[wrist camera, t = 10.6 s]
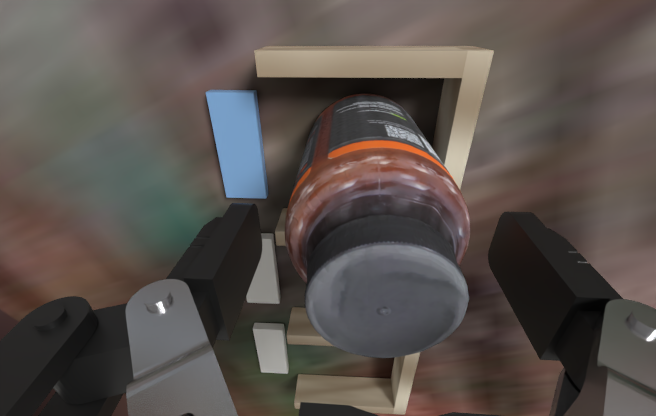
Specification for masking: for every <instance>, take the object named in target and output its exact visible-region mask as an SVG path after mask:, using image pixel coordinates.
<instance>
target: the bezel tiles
mask: <svg viewBox="0 0 656 416" xmlns="http://www.w3.org/2000/svg"><path fill="white" fill-rule="evenodd" d="M206 96H207V101H208V106H209V111H210V117H211V122H212V127H213V132H214V137H215V142H216V147H217V152H218V157H219V162H220V167H221V172H222V177H223V182H224V187H225V192H226V197H227V198H265V199H266V198H267V196H268V194H269V193H268V185H267V176H266V168H265V159H264V150H263V142H262V133H261V125H260V116H259V108H258V99H257V91H256V90H209V91H207V92H206ZM261 236H262V254H261V259H260V261H259V264H258V267H257V269H256V272H255V274H254V277H253V280H252V282H251V285H250V288H249V290H248V293H247V296H246V298H247V303H271V304H279V303H280V299H281V295H280V287H279V278H278V270H277V261H276V253H275V244H274V236H273V234H270V233H261ZM253 333H254V338H255V343H256V348H257V353H258V358H259V363H260V368H261V372H264V373H284V374H288V370H289V364H288V355H287V347H286V338H285V329H284V324H278V323H254V326H253Z"/></svg>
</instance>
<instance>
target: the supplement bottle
mask: <svg viewBox="0 0 656 416" xmlns="http://www.w3.org/2000/svg"><path fill="white" fill-rule="evenodd" d="M469 239H470V216H469V212H468V208H467V205H466V203H465V200H464V198H463V196H462V193H461V191H460V189H459V188H458V186H457V184H456V183H455V181H454V180H453V177H452V176H451V175H450V173H449V171H448V170H447V169H446V167H445V166H444V165H443V163H442V162H441V160H440V159H439V157H438V156H437V154H436V153H435V151H434V150H433V148H432V147H431V145H430V144H429V142H428V141H427V140H426V138H425V137H424V135H423V134H422V132H421V131H420V129H419V128H418V127H417V125H416V123H415V122H414V120H413V119H412V117H411V116H410V115H409V114H408V113H407V112H406V111H405V110H404V109H403V107H402V106H400V105H399V104H397V103H396V102H394V101H393V100H390V99H388V98H386V97H383V96H380V95H376V94H367V93H363V94H354V95H350V96H347V97H344V98H342V99H340V100H338V101H336V102H334V103H333V104H331V105H330V106H329V107H328V108H326V109H325V110H324V111H323V112H322V113H321V114H320V115H319V117H318V118H317V120H316V122H315V123H314V125H313V127H312V129H311V131H310V134H309V137H308V140H307V144H306V147H305V150H304V154H303V157H302V160H301V164H300V167H299V170H298V174H297V177H296V181H295V183H294V186H293V190H292V195H291V198H290V202H289V205H288V209H287V213H286V220H285V244H286V248H287V251H288V255H289V257H290V260H291V261H292V263H293V266H294V267H295V269H296V271H297V272H298V274H299V275H300V277H301V278H302V279H303V280H304V281H305V282H306V283H307V284H306V290H305V308H306V313H307V316H308V319H309V320H310V323H311V324H312V326H313V327H314V329H315V330H316V331H317V332H318V333H319V334H320V335H321V336H322V337H323V338H324V339H325V340H326V341H328V342H329V343H331V344H332V345H334V346H335V347H337V348H339V349H342V350H344V351H347V352H350V353H353V354H357V355H362V356H366V357H375V358H393V357H401V356H406V355H411V354H415V353H419V352H421V351H424V350H426V349H428V348H430V347H432V346H434V345H436V344H438V343H440V342H442V341H443V340H444V339H446V338H447V337H448V336H449V335H450V334H452V333H453V332H454V331H455V329H456V328H457V327H458V326H459V325H460V323H461V321H462V320H463V317H464V316H465V313H466V309H467V306H468V301H469V295H468V287H467V284H466V281H465V278H464V276H463V274H462V271H461V269H460V267H459V265H460V263H461V261H462V259H463V258H464V255H465V253H466V249H467V247H468V243H469Z"/></svg>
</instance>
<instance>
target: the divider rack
mask: <svg viewBox="0 0 656 416" xmlns="http://www.w3.org/2000/svg"><path fill="white" fill-rule="evenodd" d="M493 53H494V51H492V50H488V49H483V48H479V47H474V46H267V47H264V48H261V49H258V50H255V60H256V69H257V77H340V78H444V83H443V88H442V94H441V100H440V105H439V111H438V116H437V122H436V128H435V133H434V139H433V145H432V148H433V150H434V151H435V153H436V154H437V156H438V157H439V159H440V160H441V162H442V163H443V165H444V166H445V167H446V169H447V170H448V171H449V173H450V175H451V176H452V177H453V180H454V181H455V183H456V184H457V186H458V188H459V189H460V187H461V183H462V179H463V175H464V171H465V167H466V163H467V159H468V155H469V151H470V147H471V142H472V138H473V134H474V130H475V126H476V122H477V118H478V114H479V110H480V106H481V102H482V98H483V93H484V89H485V85H486V81H487V77H488V73H489V69H490V65H491V61H492V57H493ZM287 209H288V208H283V209H282V212H281V215H280V218H279V221H278V224H277V227H276V230H275V237H276V245H277V246H286V244H285V220H286V213H287ZM287 342H288V344H299V345H321V346H334V345H332V344H331V343H329V342H328V341H326V340H325V339H324V338H323V337H322V336H321V335H320V334H319V333H318V332H317V331H316V330H315V329H314V327H313V326H312V324H311V323H310V320H309V319H308V316H307V313H306V308H301V307H292V310H291V315H290V320H289V326H288V331H287ZM419 355H420V352H419V353H415V354H411V355H406V356H401V357H395V358H394V364H393V369H392V375H391V379H386V378H366V377H347V376H327V375H307V374H298V380H297V387H296V394H295V401H294V404H295V409H300V402H309V403H323V404H338V405H350V406H353V407H356V408H358V409H361V410H364V411H367V412H370V413H384V414H402V415H405V412H406V408H407V404H408V400H409V396H410V391H411V387H412V383H413V379H414V375H415V371H416V367H417V363H418V359H419Z"/></svg>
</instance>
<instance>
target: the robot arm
mask: <svg viewBox="0 0 656 416" xmlns="http://www.w3.org/2000/svg"><path fill="white" fill-rule="evenodd" d="M261 254H262V236H261V230H260V223H259V216H258V210H257V206H256V205H255V204H245V203H232V204H231V205H230V207H229V208H228V210H227V211H226V213H225V214H224V216H223V217H216V218H214V219H213V220H212V221H210V222H209V223H207V224H206V225H204V226H203V228H202V229H201V231H200V232H199V233H198V235H197V236H196V239H194V240H193V242H192V243H191V245H190V247H188V249H187V250H186V252H185V253H184V255H183V256H182V257H181V259H180V260H179V262H178V263H177V264H176V266H175V267H174V269H173V270H172V271H171V273H170V274H169V276H168V277H167V278H166V279H164V280H160V281H157V282H154V283H151V284H149V285H147V286H145V287H143V288H142V289H140V290H139V291H138V292H137V293H135V294H134V295H133V296H132V298H131V299H130V300H129V302H128V303H127V304H122V305H117V306H112V307H107V308H102V309H97V310H92V308H91V306H90V305H89V303H88V302H87V300H86V299H84V298H81V297H75V296H73V297H64V298H60V299H56V300H54V301H51V302H48V303H46V304H44V305H42V306H40V307H38V308H37V309H35V310H34V311H32V312H31V313H29V314H28V315H27V316H25V317H24V318H23V319H22V320H21V321H20V322H19V323H18V324H17V325H16V326H15V327H14V328H13V329H12V330H11V331H10V332H9V333H8V334H7V335H6V336H5V337H4V338H3V339H2V340H1V341H0V416H32V415H33V414H34V413H35V411H36V410H37V408H38V407H39V406H40V405H41V403H42V402H43V401H44V399H45V398H46V397H47V395H48V394H49V393H50V391H51V390H52V389H53V388H54V389H55V390H56V392H55V394H54V395H53V397H52V398H51V399H50V401H49V402H48V403H47V405H46V406H45V407H44V409H43V410H42V412H41V413H40V414H39V416H111V415H112V413H113V412H114V410H115V408H116V406H117V404H118V403H119V401H120V399H121V397H122V395H123V393H126V395H127V406H128V416H238V415H237V412H236V409H235V407H234V404H233V401H232V399H231V396H230V394H229V391H228V388H227V386H226V383H225V380H224V378H223V375H222V372H221V370H220V367H219V364H218V362H217V359H216V356H215V354H214V351H213V345H214V343H215V341H216V340H230V338H231V335H232V332H233V330H234V327H235V324H236V322H237V319H238V317H239V314H240V311H241V309H242V306H243V303H244V301H245V298H246V296H247V293H248V290H249V288H250V285H251V282H252V280H253V277H254V274H255V272H256V269H257V267H258V264H259V261H260V259H261ZM488 260H489V266H490V268H491V270H492V272H493V274H494V276H495V278H496V279H497V281H498V283H499V285H500V287H501V289H502V290H503V292H504V294H505V296H506V298H507V300H508V302H509V303H510V305H511V307H512V309H513V311H514V313H515V314H516V316H517V318H518V320H519V322H520V324H521V325H522V327H523V329H524V331H525V333H526V335H527V336H528V338H529V340H530V342H531V344H532V346H533V347H534V349H535V351H536V353H537V355H538V357H539V358H540V360H558V361H561V363H562V365H563V366H564V368H563V370H562V371H561V373H560V375H559V378H558V382H557V386H556V390H555V394H554V398H553V402H552V406H551V410H550V414H549V416H656V309H654V308H652V307H650V306H648V305H645V304H642V303H639V302H636V301H632V300H626V299H623V298H622V297H621V296H620V295H619V294H618V293H617V292H616V291H615V290H614V289H613V288H612V287H611V286H610V285H609V284H608V282H607V281H606V280H605V279H604V278H603V277H602V276H601V275H600V274H599V273H598V272H597V271H596V270H595V269H594V268H593V267H592V266H591V265H590V264H587V260H586V259H585V258H584V257H583V256H582V255H581V254H580V253H577V250H576V249H575V248H574V247H573V246H572V245H571V244H570V243H569V242H568V241H567V240H566V239H565V238H564V237H562V236H560V235H559V234H557V233H556V232H554V231H552V230H551V229H547V228H546V227H545V226H544V225H543V223H542V222H541V221H540V220H539V219H538V218H537V217H536V216H535V215H534V214H533V213H530V212H504V213H503V214H502V215H501V217H500V219H499V222H498V225H497V228H496V231H495V234H494V237H493V240H492V243H491V246H490V249H489V253H488ZM299 416H378V415H375V414H372V413H370V412H367V411H364V410H361V409H358V408H356V407H353V406H350V405H338V404H323V403H309V402H300V410H299ZM439 416H499V415H484V414H470V413H455V412H452V413H448V414H444V415H439Z"/></svg>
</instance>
